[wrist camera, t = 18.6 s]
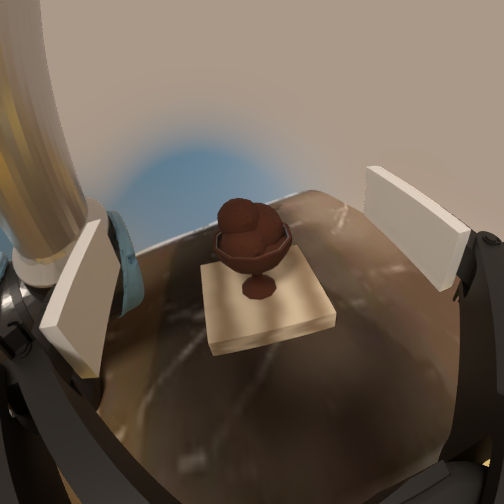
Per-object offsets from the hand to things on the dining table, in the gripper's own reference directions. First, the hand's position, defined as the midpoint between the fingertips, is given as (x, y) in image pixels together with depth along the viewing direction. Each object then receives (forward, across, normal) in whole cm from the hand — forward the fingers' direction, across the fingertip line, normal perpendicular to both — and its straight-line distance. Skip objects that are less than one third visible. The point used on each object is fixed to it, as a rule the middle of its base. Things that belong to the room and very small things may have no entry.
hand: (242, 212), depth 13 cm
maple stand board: (+22, +3, -28) cm, 35 cm away
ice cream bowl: (+21, +3, -25) cm, 33 cm away
